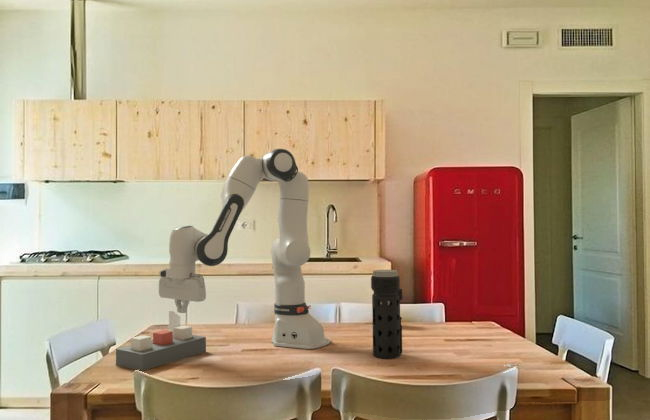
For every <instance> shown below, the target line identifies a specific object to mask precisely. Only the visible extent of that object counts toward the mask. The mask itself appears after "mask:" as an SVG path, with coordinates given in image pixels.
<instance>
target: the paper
mask: <svg viewBox="0 0 650 420" xmlns="http://www.w3.org/2000/svg"><path fill="white" fill-rule="evenodd" d="M457 355H458V354H453V356H454V357H456V356H457ZM513 366H515V367H518V368H517V369H521V367H520V366H518V364H517V363H516V364H515V363H514V364H513V363H512V364H511V363H508V364H503V367H504V368H510V367H513Z"/></svg>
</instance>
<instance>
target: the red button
mask: <svg viewBox="0 0 650 420" xmlns="http://www.w3.org/2000/svg"><path fill="white" fill-rule="evenodd" d="M152 340H153V344H157V345H165V344H169V343H173V332H172V331H169V330H164V329H162V330H159V331H155V332H152Z"/></svg>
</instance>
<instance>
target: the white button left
mask: <svg viewBox="0 0 650 420" xmlns="http://www.w3.org/2000/svg"><path fill="white" fill-rule="evenodd" d="M151 340H152V336H150V335H144V334H142V335H138V336H132V337H130V345H131V350H136V351H143V350H146V349H150V348H152V343H151Z"/></svg>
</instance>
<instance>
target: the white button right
mask: <svg viewBox="0 0 650 420" xmlns="http://www.w3.org/2000/svg"><path fill="white" fill-rule="evenodd" d="M192 335H193V326H188V325H180V326H179V327H175V328H173V338H174V339H180V340H184V339H188V338H191V337H192Z"/></svg>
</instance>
